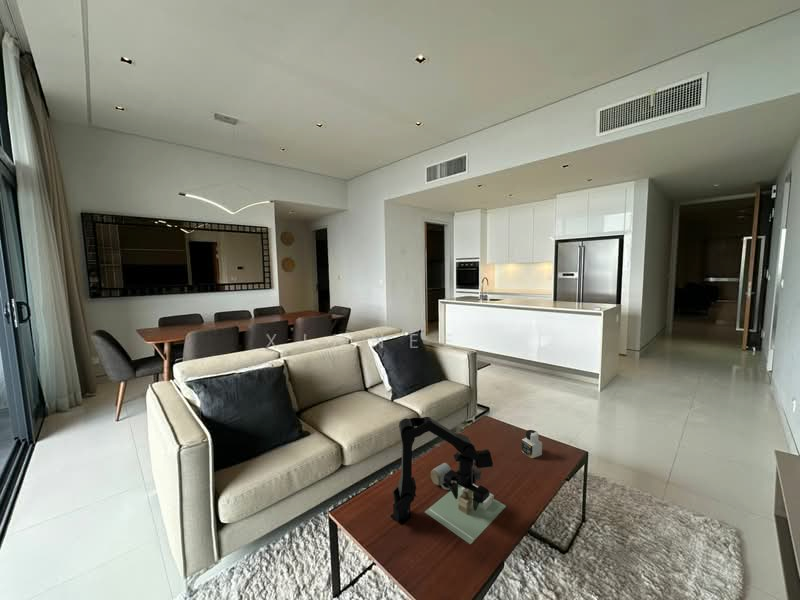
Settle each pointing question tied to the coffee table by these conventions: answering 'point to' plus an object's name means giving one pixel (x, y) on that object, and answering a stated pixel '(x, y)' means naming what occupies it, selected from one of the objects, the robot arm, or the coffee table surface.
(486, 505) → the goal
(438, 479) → the ceramic mug
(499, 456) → the coffee table surface
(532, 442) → the medicine bottle
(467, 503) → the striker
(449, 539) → the coffee table surface
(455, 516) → the pitch mat
